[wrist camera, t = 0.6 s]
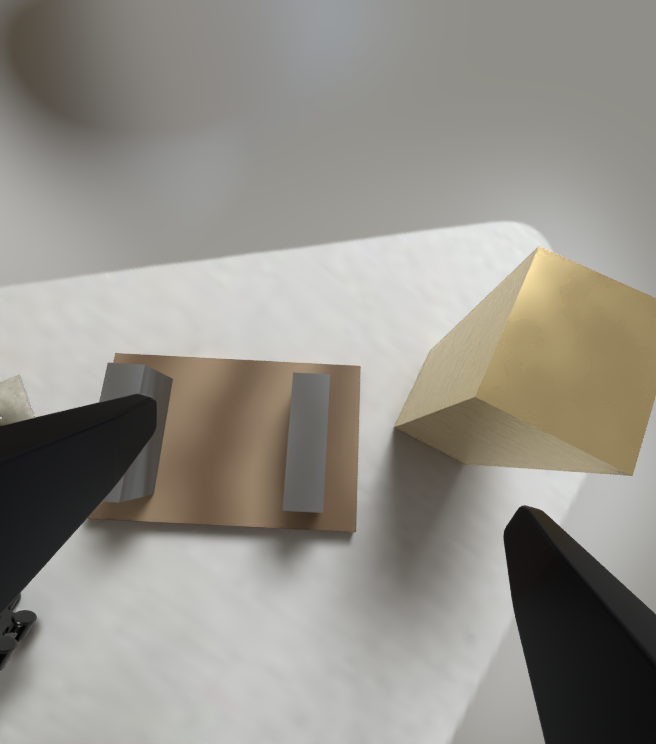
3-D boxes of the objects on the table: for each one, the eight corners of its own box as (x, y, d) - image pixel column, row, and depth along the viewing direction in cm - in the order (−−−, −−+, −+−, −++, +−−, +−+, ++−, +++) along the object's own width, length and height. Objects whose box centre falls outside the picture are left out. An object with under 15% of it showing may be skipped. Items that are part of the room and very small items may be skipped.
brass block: (464, 463, 21) (632, 475, 10) (393, 427, 22) (475, 396, 10) (497, 383, 23) (680, 309, 11) (430, 350, 23) (538, 246, 12)
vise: (358, 369, 23) (367, 349, 18) (354, 528, 20) (362, 548, 16) (116, 357, 23) (67, 333, 18) (83, 514, 20) (18, 531, 16)
